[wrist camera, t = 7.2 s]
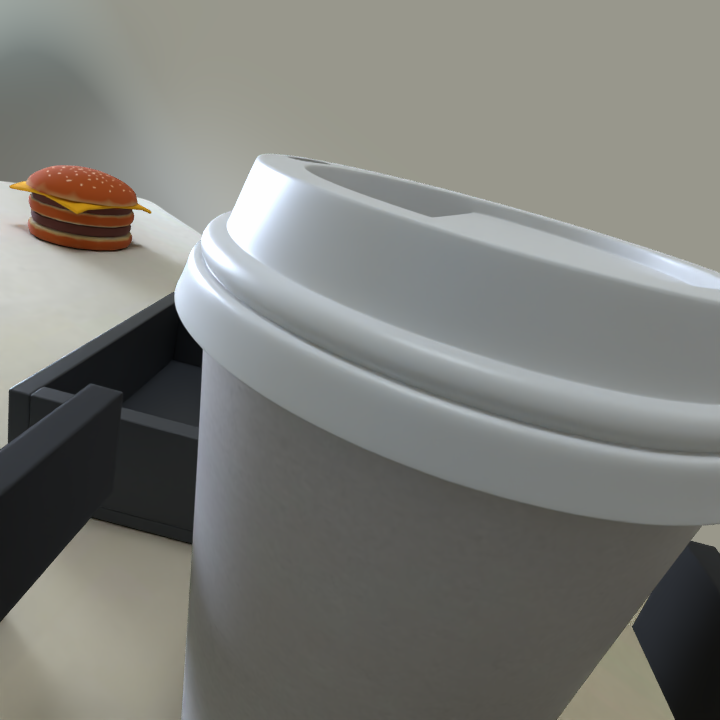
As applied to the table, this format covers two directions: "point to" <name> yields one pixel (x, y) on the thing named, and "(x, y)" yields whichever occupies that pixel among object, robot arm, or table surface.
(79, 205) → the hamburger
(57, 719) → the table surface
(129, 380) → the basket
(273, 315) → the coffee cup
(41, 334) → the table surface
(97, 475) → the robot arm
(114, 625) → the table surface
